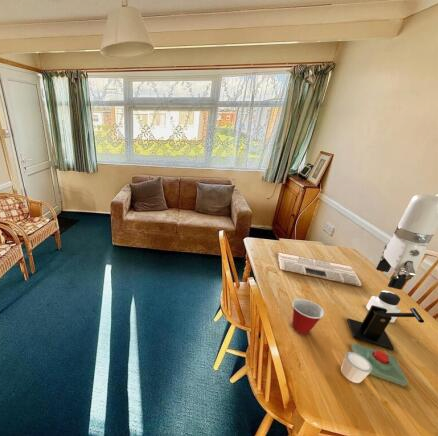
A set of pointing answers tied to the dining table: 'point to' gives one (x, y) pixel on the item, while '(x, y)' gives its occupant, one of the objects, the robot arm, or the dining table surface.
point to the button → (381, 357)
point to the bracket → (372, 328)
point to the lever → (403, 314)
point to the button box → (382, 365)
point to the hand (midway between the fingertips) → (387, 278)
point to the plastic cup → (305, 315)
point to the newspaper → (318, 269)
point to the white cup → (355, 367)
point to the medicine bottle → (386, 302)
